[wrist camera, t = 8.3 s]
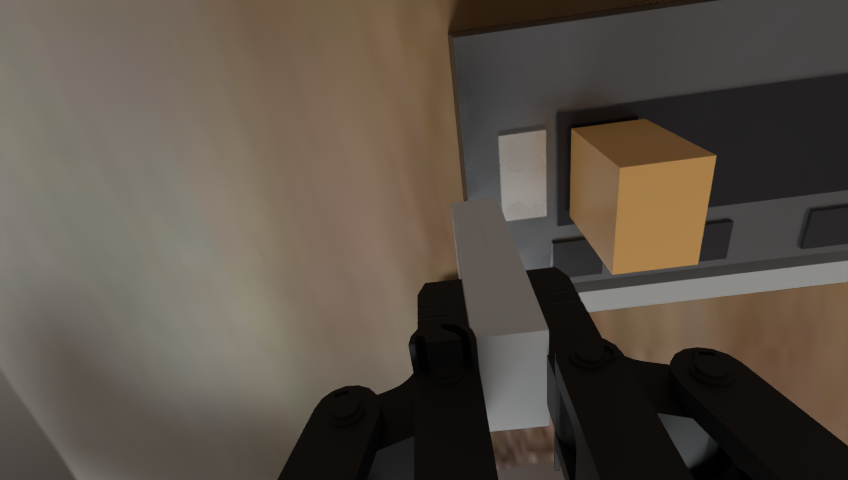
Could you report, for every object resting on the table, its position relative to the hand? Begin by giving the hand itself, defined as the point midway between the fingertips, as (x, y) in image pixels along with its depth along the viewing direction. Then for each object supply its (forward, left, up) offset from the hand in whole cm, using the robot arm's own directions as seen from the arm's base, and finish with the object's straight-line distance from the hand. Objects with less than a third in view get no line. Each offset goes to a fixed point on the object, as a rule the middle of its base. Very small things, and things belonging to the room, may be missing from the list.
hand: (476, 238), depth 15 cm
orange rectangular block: (+6, 0, -5) cm, 8 cm away
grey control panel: (+11, 0, -9) cm, 14 cm away
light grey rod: (+10, -9, -9) cm, 16 cm away
